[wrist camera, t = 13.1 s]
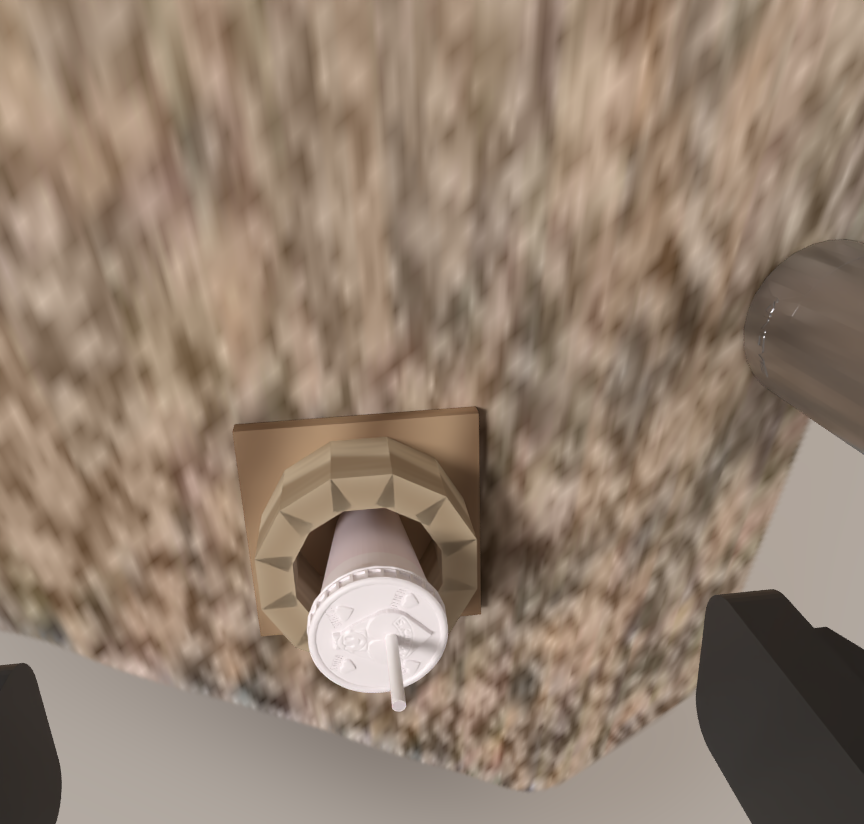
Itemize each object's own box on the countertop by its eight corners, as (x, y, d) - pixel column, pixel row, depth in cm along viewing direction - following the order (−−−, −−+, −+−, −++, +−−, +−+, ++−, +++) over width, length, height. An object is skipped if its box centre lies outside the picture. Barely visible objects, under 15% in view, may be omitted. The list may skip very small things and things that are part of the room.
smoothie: (426, 573, 46) (464, 760, 33) (314, 582, 45) (309, 776, 32) (424, 473, 43) (465, 633, 30) (306, 481, 43) (297, 648, 30)
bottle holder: (475, 406, 43) (494, 447, 38) (478, 604, 48) (495, 664, 43) (234, 424, 42) (221, 469, 37) (262, 625, 47) (253, 690, 42)
